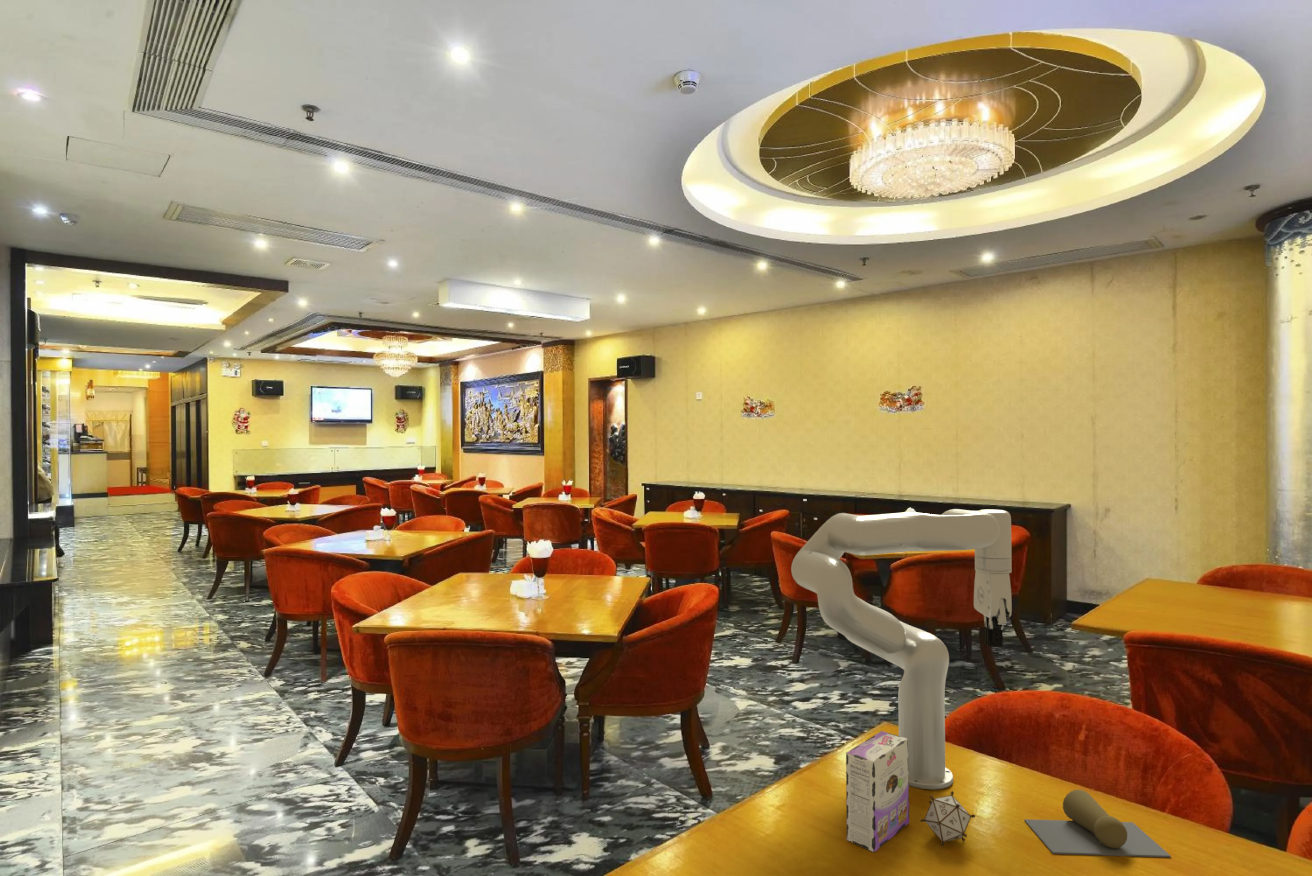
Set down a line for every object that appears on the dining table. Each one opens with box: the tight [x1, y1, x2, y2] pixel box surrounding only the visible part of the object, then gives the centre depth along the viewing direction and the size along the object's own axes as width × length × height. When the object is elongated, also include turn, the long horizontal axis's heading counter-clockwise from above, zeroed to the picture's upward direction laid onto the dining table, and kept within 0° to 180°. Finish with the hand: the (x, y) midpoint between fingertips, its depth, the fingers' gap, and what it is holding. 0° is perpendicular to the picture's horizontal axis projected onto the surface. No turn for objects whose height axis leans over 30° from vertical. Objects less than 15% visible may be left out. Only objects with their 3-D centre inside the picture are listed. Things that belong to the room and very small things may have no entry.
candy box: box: [845, 730, 910, 853], centre depth 132 cm, size 14×6×16 cm, turn 135°
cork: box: [1062, 789, 1127, 848], centre depth 130 cm, size 6×6×11 cm
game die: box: [919, 790, 976, 848], centre depth 130 cm, size 9×8×10 cm
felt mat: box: [1024, 818, 1172, 858], centre depth 130 cm, size 20×11×1 cm, turn 86°
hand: (993, 645), depth 159 cm, fingers closed
